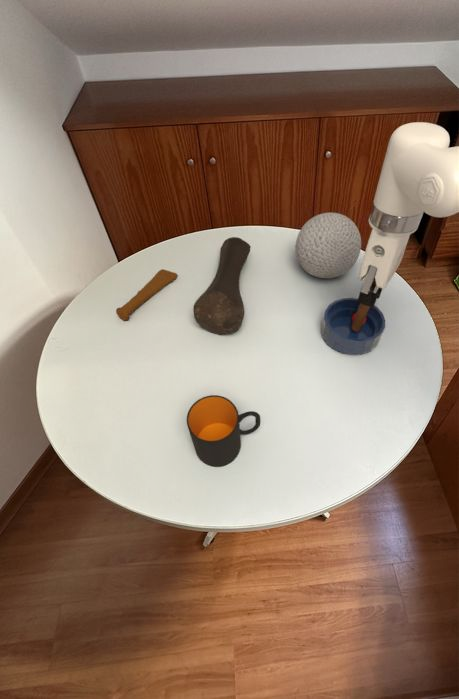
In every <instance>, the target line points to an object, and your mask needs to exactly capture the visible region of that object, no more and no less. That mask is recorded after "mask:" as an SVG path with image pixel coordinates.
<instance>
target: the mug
mask: <svg viewBox="0 0 459 699" xmlns="http://www.w3.org/2000/svg"><path fill="white" fill-rule="evenodd" d="M247 417H254V420H255V424H254V425H253V427H251V428H249V429H245V430H243V429H241V426H240V425H241V424H240V423H241V422H242V421H244V419H245V418H247ZM186 426H187V429H188V432H189V436H190V439H191V442H192V444H193V448H194V451H195V454H196V456H197V458H198V459H199V460H200V461H201V463H203V464H205V465H207V466H209V467H213V468H220V467H225V466H227V465H229V464H231V463H233V462H235V460H236V458H238V456H239V454H240V451H241V448H242V438H241V436H245V435H249V434H252V433H254V432H256V431H257V430H258V429H259V428H260V426H261V415H260V413H258V412H257V411H253V410H250V411H249V410H248V411H246V412H243V413H241V414H239V411H238V408H237V406H236V405H235V404H234V402H233V401H232V400H230V399H229V398H227V397H225V396H222V395H216V394H212V395H206V396H203V397H201V398H199V399H198V400H196V401H195V402H193V404H192V405H191V406H190V408H189V409H188V411H187V415H186Z"/></svg>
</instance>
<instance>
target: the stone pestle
mask: <svg viewBox="0 0 459 699" xmlns="http://www.w3.org/2000/svg"><path fill="white" fill-rule="evenodd" d="M250 253H251V245H250V244H249V243H248V242H247V241H246V240H244V239H243V238H240V237H237V236H232V237H228V238H226V239H225V240H224V241H223V242H222V245H221V247H220V251H219V262H218V267H217V270H216V273H215V276H214V278H213V280H212V282H211V283H210V284H209V286H208V287H207V289H205V291H204V292H203V293H202V294H201V295H200V296H199V297H198V298H197V299H196V301H194V304H193V317H194V320H195V323H196V324H198V326H200V327H201V328H202V329H204V330H207V331H208V332H211V333H213V334H217V335H232V334H235V333H236V332H238V331H239V330H240V328H241V326H242V324H243V322H244V317H245V305H244V301H243V298H242V296H241V290H240V278H241V272H242V270H243V267H244V264H245V263H246V261H247V259H248V256H249V254H250Z"/></svg>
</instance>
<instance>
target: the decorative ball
mask: <svg viewBox="0 0 459 699" xmlns="http://www.w3.org/2000/svg"><path fill="white" fill-rule="evenodd" d="M361 250H362V236H361V233H360V231H359V228H358V226H357V225H356V224H355V222H354V221H353V220H352V219H350V218H349V217H348V216H346V215H344V214H342V213H338V212H323V213H320V214H317V215H314V216H313V217H311V218H310V219H308V220H307V221H306V222H305V223H304V225H303V226H302V227H301V229H300V230H299V232H298V234H297V238H296V241H295V255H296V258H297V260H298V261H297V262H298V263H299V265H300V266H301V267H302V269H303V270H304V271H305V272H307V273H308V274H309V275H311V276H313V277H315V278H320V279H333V278H337V277H339V276H341V275H343V274H345V273H346V272H348V271H349V270H350V269H352V267H353V266H354V265H355V264H356V262H357V260H358V258H359V257H360V254H361Z"/></svg>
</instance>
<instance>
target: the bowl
mask: <svg viewBox="0 0 459 699" xmlns="http://www.w3.org/2000/svg"><path fill="white" fill-rule="evenodd" d="M359 305H360V303H359V302H358V297H343V298H339V299H337V300H334V301H333V302H331V303H329V305H328V306H327V307H326V309H325V310H324V315H323V319H322V324H321V328H320V329H321V330H320V331H321V336H322V338H323V339H324V341H325V343H326V344H327V346H330V348H331V349H333V350H335V351H337V352H339V353H342V354H345V355H346V354H347V355H351V356H356V355H364V354H367V353H369V352H371V351H373V350H374V349H376V347H377V346H378V344H379V343H380V341H381V338H382V336H383V333H384V331H385V329H386V318H385V315H384V313H383V312H382V310H381V309H380V308H379V307H378V306H376V304H375V305H374V307H370V308H369V310H368V313H367V315H366V322H365V323H364V324H363V325H362V327H361V329H360V331H357V332H356V331H353V330H352V329H351V326H352V323H353V322H352V316H353V314H354V313H356V312H357V310H358V307H359Z"/></svg>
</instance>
